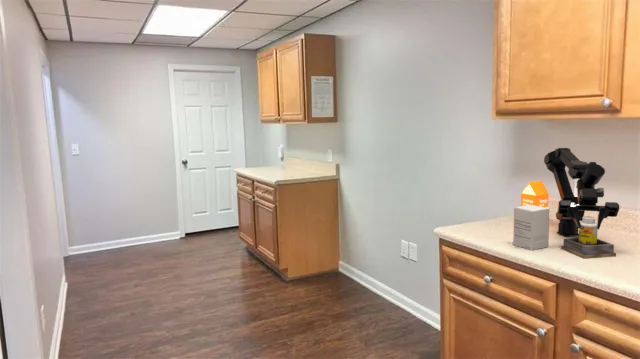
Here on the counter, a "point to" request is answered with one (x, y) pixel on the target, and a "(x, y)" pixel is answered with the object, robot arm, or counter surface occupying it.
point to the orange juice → (535, 195)
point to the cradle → (588, 248)
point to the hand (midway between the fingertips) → (588, 228)
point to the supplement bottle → (588, 231)
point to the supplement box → (531, 227)
